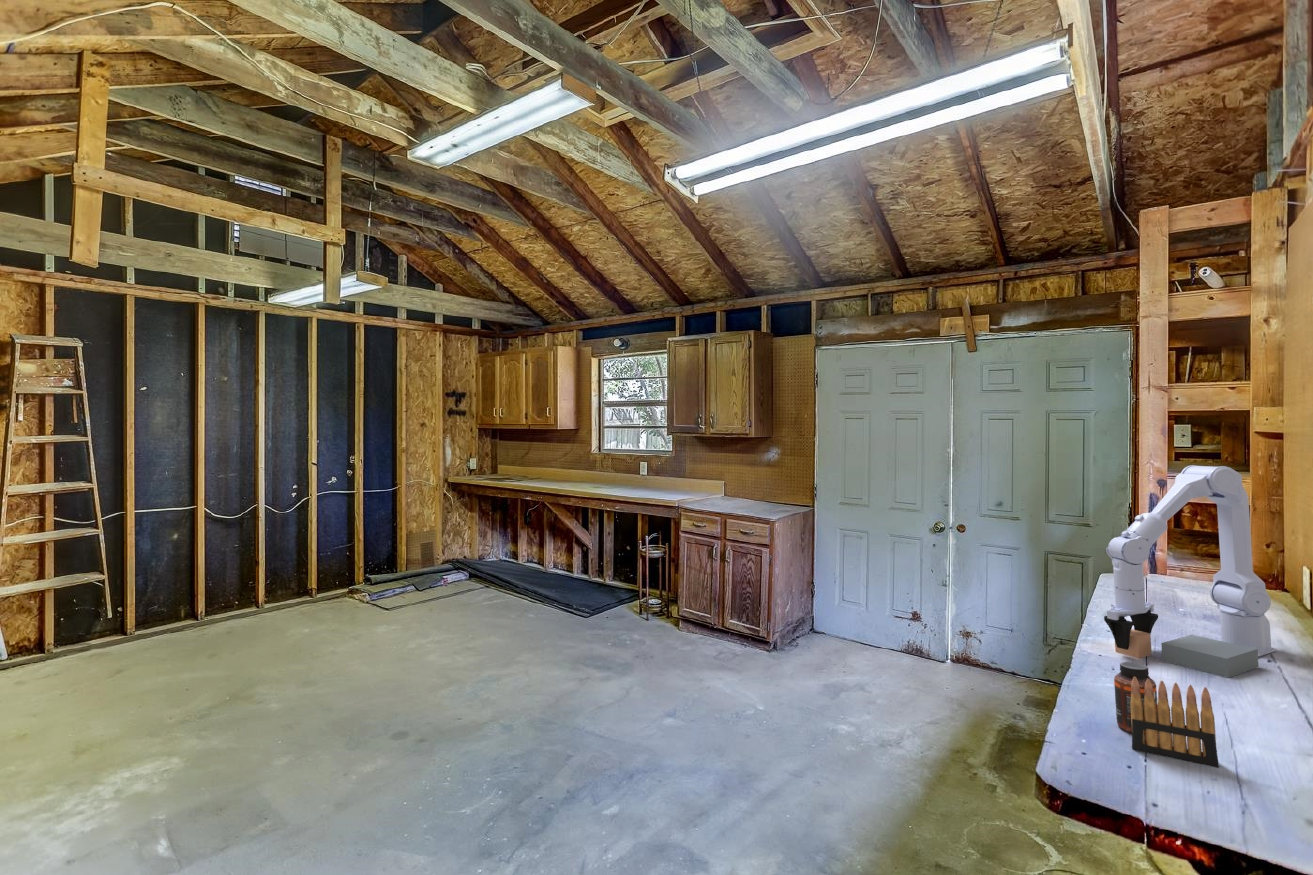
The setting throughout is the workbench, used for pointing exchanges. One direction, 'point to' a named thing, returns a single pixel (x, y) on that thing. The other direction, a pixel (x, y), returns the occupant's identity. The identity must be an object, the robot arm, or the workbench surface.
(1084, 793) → the workbench surface
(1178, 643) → the slate plinth
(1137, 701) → the ammunition clip
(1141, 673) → the supplement bottle
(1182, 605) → the workbench surface
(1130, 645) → the terracotta cube
